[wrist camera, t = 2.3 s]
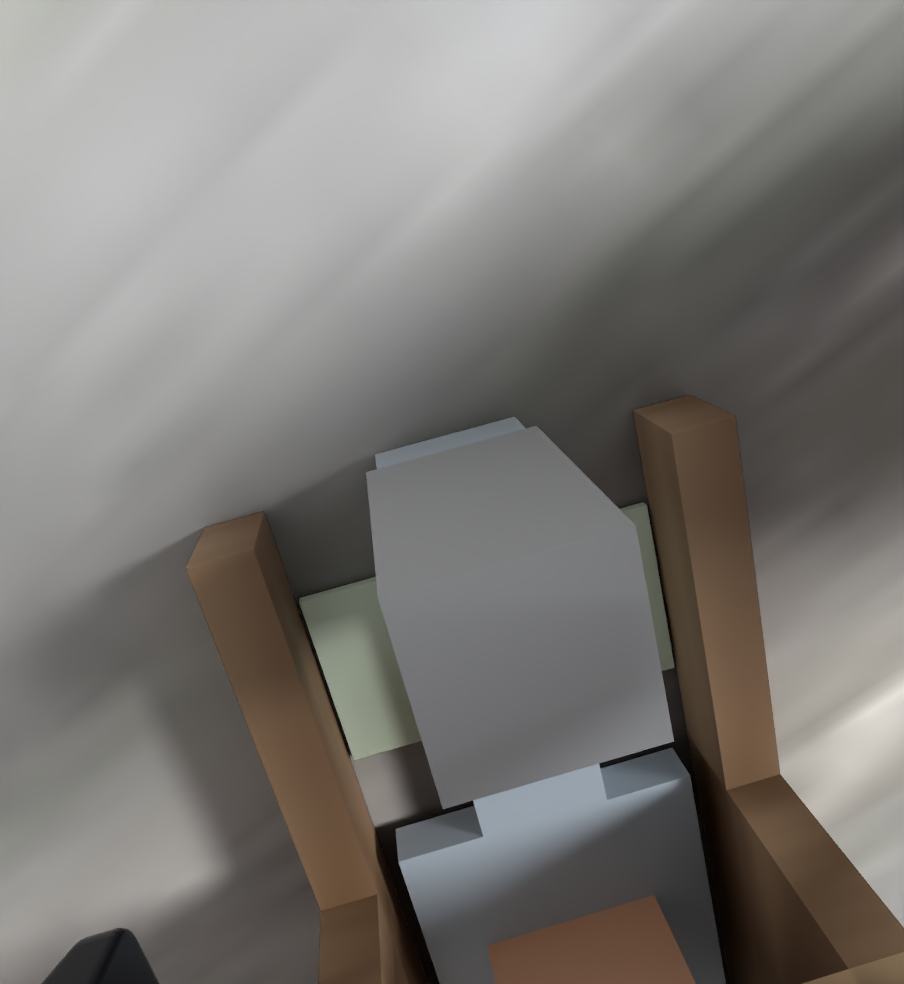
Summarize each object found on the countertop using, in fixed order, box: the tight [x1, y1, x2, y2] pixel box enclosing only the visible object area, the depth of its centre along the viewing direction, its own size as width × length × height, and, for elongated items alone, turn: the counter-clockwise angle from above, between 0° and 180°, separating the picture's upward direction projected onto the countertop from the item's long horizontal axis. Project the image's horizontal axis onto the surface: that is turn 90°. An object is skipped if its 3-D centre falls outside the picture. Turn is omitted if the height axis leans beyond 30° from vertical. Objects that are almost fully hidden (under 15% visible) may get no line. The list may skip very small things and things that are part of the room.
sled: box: [366, 416, 726, 984], centre depth 15 cm, size 7×19×6 cm, turn 14°
